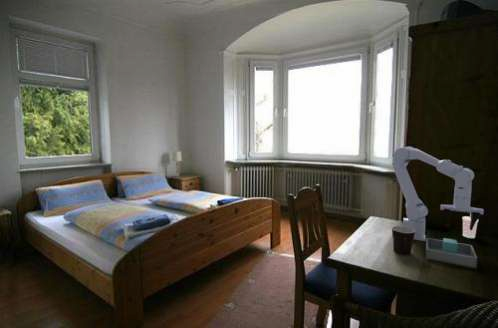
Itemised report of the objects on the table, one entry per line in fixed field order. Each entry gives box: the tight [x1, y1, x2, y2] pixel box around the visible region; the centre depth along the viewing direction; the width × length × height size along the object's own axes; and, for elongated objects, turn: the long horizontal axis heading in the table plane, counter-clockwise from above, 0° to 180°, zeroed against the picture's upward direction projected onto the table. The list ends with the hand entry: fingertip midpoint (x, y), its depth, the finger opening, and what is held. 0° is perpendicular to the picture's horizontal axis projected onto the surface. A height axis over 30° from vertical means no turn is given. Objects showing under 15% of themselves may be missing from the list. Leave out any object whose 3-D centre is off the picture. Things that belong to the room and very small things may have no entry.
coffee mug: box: [391, 225, 415, 256], centre depth 118 cm, size 12×9×10 cm
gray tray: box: [425, 237, 479, 269], centre depth 115 cm, size 16×14×4 cm
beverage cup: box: [461, 213, 480, 239], centre depth 135 cm, size 6×6×14 cm
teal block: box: [442, 237, 459, 254], centre depth 115 cm, size 4×4×6 cm
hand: (459, 227), depth 121 cm, fingers open, 7 cm apart
